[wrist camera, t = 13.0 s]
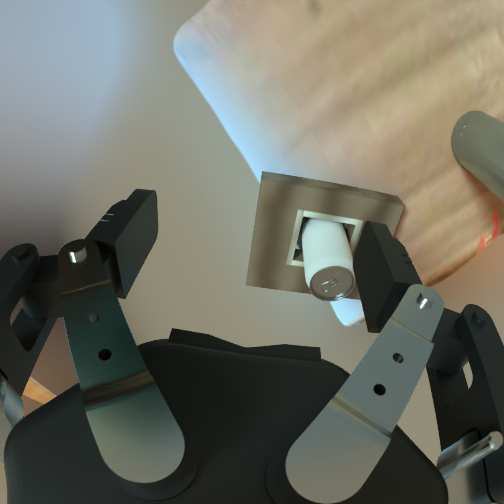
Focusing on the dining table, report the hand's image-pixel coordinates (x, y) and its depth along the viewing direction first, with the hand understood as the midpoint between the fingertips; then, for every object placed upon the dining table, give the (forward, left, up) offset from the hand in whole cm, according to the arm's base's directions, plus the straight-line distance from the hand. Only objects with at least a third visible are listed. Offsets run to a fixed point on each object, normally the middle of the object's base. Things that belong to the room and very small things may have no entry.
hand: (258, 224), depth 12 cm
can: (-10, +18, -30) cm, 37 cm away
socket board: (-10, +18, -30) cm, 36 cm away
